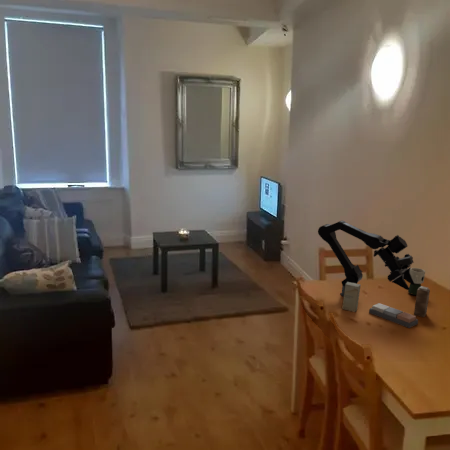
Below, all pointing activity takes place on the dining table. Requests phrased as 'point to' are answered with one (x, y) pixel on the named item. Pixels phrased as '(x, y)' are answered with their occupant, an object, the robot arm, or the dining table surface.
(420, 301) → the walnut stylus post
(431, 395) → the dining table surface
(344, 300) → the skincare box
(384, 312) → the key pad
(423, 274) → the character mug
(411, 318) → the terracotta key
